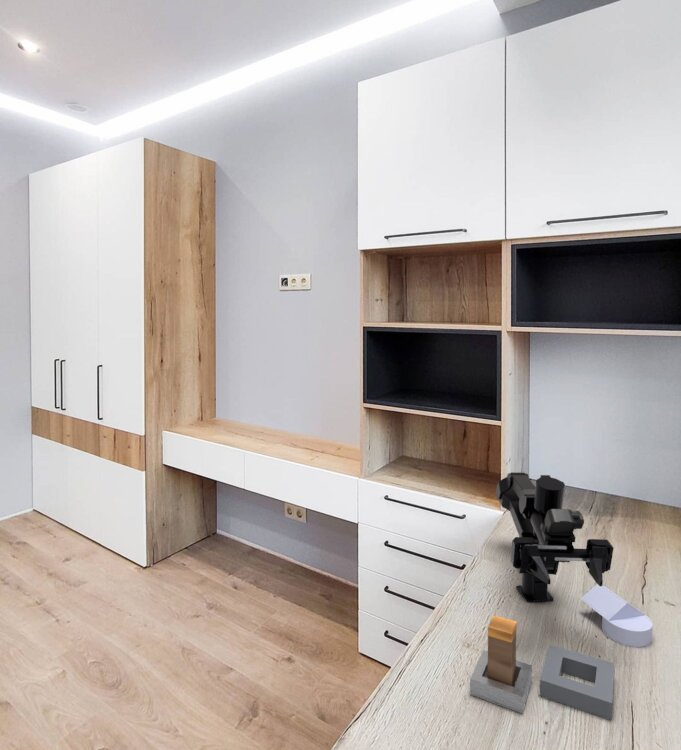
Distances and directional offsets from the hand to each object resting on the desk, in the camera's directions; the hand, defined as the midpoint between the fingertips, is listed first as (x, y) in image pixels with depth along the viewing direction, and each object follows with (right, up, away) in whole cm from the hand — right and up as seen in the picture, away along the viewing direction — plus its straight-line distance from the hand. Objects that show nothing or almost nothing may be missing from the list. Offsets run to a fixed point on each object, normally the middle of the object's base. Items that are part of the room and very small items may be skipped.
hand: (575, 583), depth 91 cm
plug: (-15, -17, -3) cm, 23 cm away
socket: (-1, -17, -3) cm, 17 cm away
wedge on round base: (+16, -15, +14) cm, 26 cm away
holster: (-15, -17, -3) cm, 23 cm away
